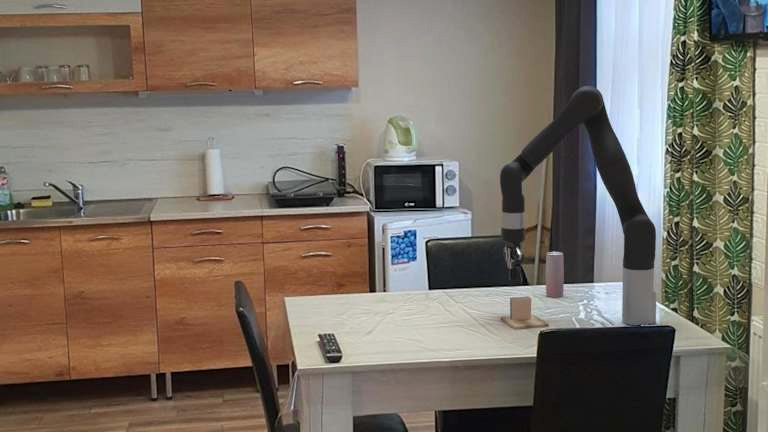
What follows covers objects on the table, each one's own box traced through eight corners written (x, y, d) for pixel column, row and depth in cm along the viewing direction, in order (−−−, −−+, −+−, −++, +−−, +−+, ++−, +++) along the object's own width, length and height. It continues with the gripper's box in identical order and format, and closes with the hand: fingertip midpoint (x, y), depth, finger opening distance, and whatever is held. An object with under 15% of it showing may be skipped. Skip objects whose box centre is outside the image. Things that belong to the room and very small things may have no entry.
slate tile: (528, 316, 298) (528, 296, 297) (531, 318, 295) (531, 298, 294) (510, 318, 296) (510, 297, 295) (513, 320, 294) (513, 299, 293)
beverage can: (545, 293, 332) (545, 251, 330) (563, 293, 331) (563, 251, 329) (546, 297, 326) (546, 254, 324) (563, 297, 325) (564, 254, 323)
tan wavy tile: (533, 316, 301) (533, 314, 300) (548, 326, 289) (548, 323, 289) (500, 319, 298) (500, 317, 298) (514, 329, 286) (515, 326, 286)
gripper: (532, 228, 292) (532, 283, 295) (516, 222, 305) (515, 274, 308) (509, 229, 291) (509, 285, 293) (494, 223, 303) (494, 276, 306)
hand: (512, 279), depth 300 cm, fingers closed
